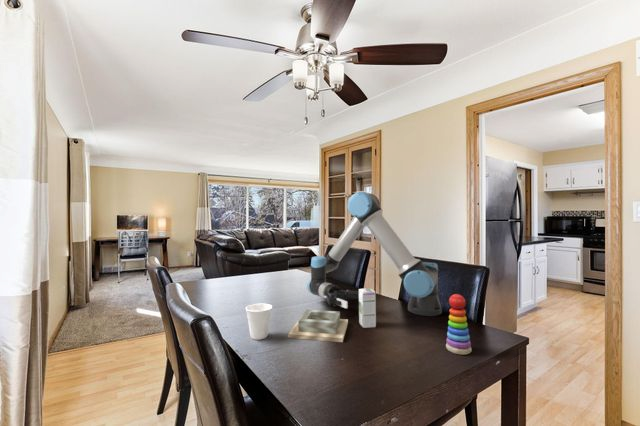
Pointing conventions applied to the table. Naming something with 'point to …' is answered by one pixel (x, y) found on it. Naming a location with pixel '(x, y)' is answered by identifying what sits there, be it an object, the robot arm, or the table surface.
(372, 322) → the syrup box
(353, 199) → the robot arm
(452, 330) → the stacking toy
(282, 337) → the table surface
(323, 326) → the socket block
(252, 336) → the cup
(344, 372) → the table surface
